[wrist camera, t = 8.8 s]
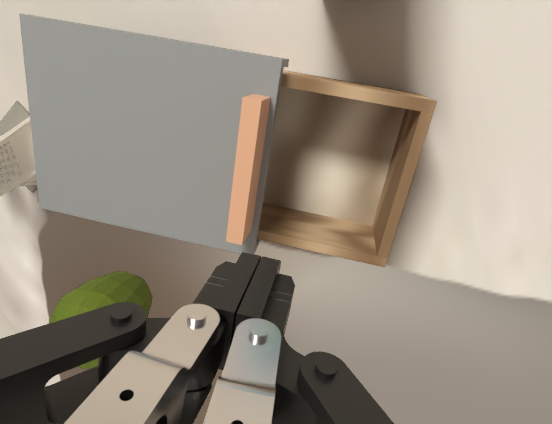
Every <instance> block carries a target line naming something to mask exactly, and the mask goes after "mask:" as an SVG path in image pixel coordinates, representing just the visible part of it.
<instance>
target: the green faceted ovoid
mask: <svg viewBox="0 0 552 424" xmlns="http://www.w3.org/2000/svg"><path fill="white" fill-rule="evenodd" d="M151 301H152V295H151V292H150V290H149V287H148V285H147V284H146V282H145V281H144V280H143V279H142V278H141V277H139V276H137V275H134V274H131V273H128V272H120V271H117V272H113V273H110V274H107V275H104V276H101V277H98V278H95V279H92V280H90V281H88V282H86V283H84V284H83V285H81V286H79V287H77V288H76V289H74V290H72V291H71V292H69V293H68V294H66V295H64V296H63V297H62V298H61V299H60V301H59V302H58V304H57V305H56V306H55V309H54V311H53V313H52V315H51V317H50V319H49V324H50V323H53V322H56V321H59V320H63V319H66V318H69V317H72V316H75V315H79V314H82V313H85V312H88V311H91V310H95V309H98V308H101V307H104V306H108V305H111V304H114V303H119V302H131V303H135V304H138V305H140V306H141V307H143V308H144V309H145V311H146V318H147V317H148V314H149V310H150V306H151ZM97 366H98V358H97V359H95V360H92V361H90V362H87V363H85V364H82V365H80V366H77V367H80V368H87V369H89V368H90V369H92V368H94V367H97Z"/></svg>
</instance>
